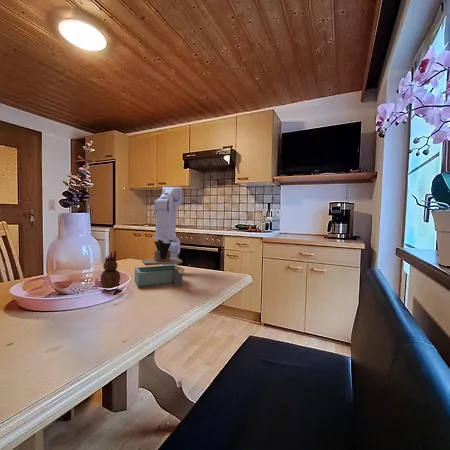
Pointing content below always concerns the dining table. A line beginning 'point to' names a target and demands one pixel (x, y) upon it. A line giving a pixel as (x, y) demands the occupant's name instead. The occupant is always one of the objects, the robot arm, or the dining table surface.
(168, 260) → the lid
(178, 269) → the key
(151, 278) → the green rectangular open box
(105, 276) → the wooden figurine
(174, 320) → the dining table surface
